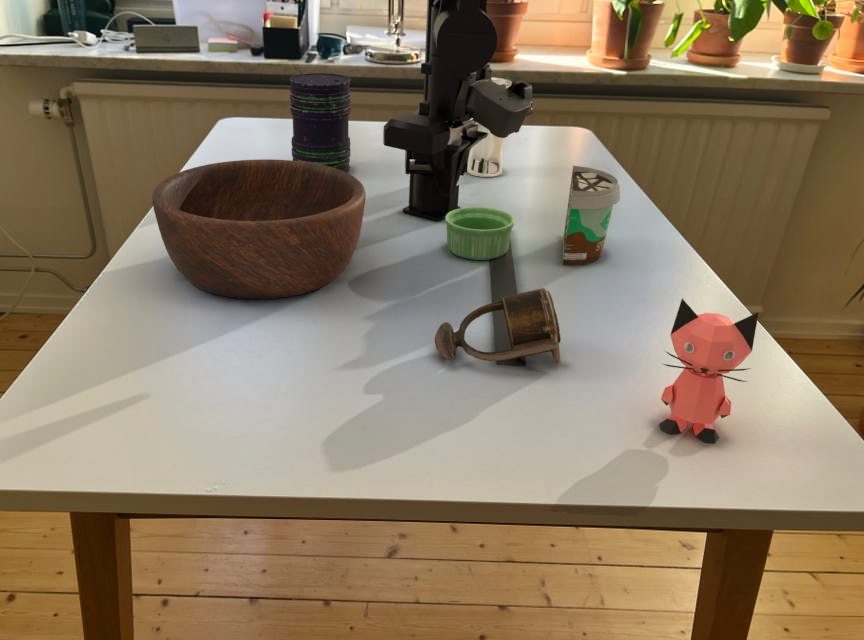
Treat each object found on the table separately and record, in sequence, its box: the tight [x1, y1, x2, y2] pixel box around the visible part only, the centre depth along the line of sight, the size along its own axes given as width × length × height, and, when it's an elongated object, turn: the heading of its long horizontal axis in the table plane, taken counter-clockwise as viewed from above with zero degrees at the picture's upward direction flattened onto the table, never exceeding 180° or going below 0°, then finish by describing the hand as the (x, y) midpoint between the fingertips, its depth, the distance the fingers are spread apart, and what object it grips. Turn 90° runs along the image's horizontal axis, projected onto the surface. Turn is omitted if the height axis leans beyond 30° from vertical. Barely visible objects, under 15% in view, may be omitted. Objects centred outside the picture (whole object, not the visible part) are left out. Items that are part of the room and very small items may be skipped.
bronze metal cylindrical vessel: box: [434, 287, 562, 365], centre depth 82 cm, size 7×13×10 cm
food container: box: [561, 165, 621, 266], centre depth 106 cm, size 12×6×10 cm, turn 168°
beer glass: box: [466, 76, 513, 178], centre depth 136 cm, size 7×7×15 cm
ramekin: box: [444, 206, 515, 261], centre depth 107 cm, size 9×9×4 cm
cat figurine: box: [658, 298, 760, 444], centre depth 70 cm, size 7×7×12 cm
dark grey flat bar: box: [489, 239, 527, 367], centre depth 98 cm, size 38×3×1 cm, turn 175°
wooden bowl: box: [151, 158, 367, 300], centre depth 99 cm, size 25×25×10 cm
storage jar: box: [289, 72, 352, 174], centre depth 135 cm, size 10×10×15 cm
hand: (447, 195), depth 95 cm, fingers closed
